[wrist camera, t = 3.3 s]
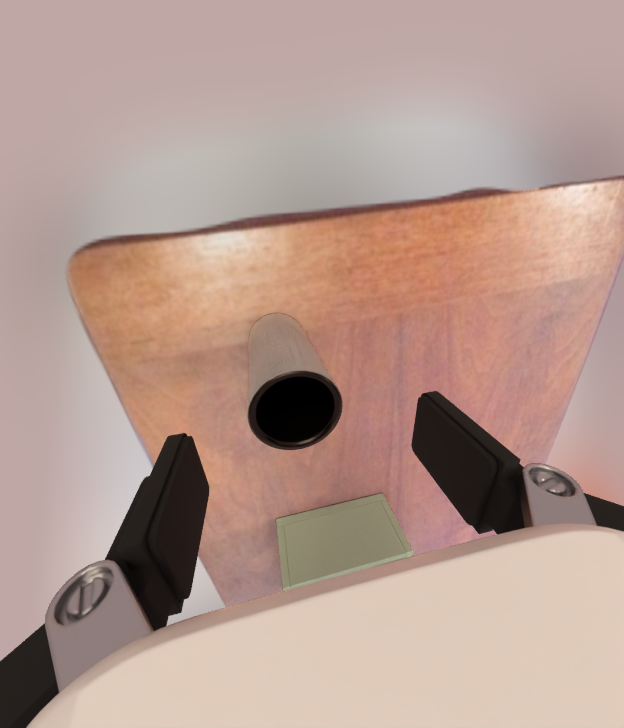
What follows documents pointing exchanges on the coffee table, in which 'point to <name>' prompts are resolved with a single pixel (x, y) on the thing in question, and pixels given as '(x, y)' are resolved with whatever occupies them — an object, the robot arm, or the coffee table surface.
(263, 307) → the coffee table surface
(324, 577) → the green open box
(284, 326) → the grey hollow cylinder
